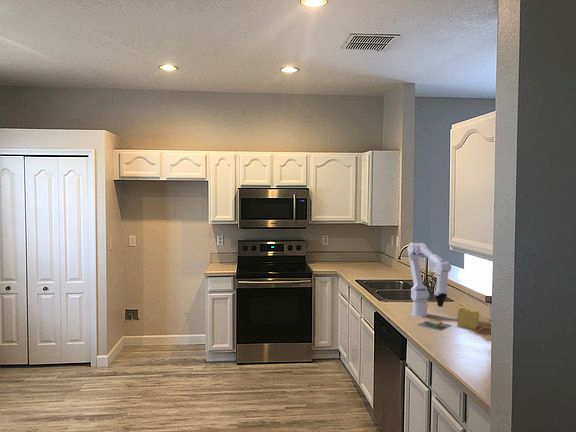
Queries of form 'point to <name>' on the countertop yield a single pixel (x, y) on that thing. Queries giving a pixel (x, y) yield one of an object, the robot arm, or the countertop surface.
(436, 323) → the tile
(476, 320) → the cheese
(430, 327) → the mat
